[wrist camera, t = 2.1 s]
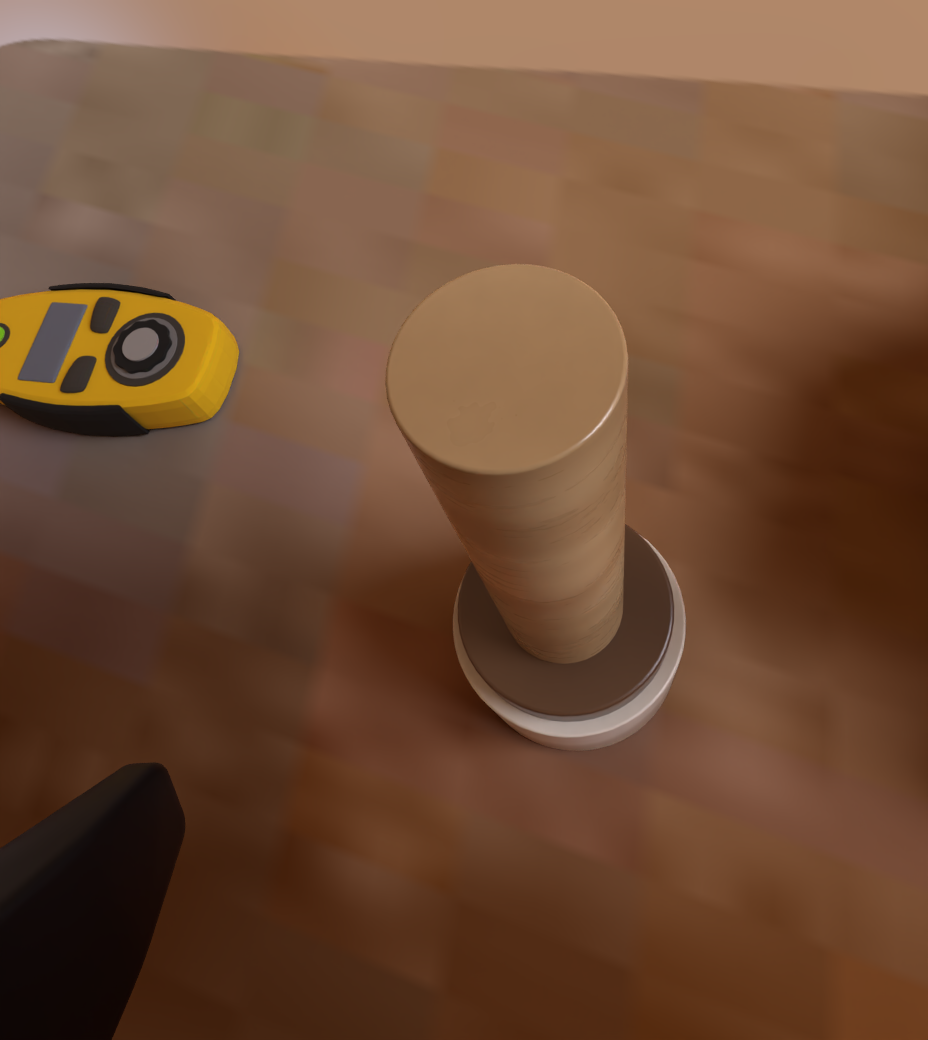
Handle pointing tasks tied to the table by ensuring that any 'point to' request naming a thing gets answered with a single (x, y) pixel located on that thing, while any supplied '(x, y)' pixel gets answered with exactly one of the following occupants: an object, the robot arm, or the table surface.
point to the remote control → (112, 359)
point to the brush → (539, 502)
